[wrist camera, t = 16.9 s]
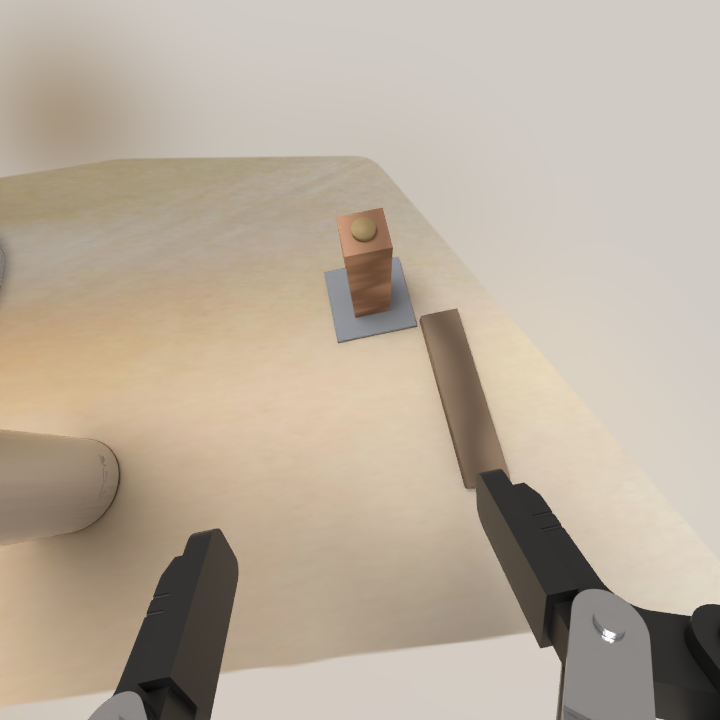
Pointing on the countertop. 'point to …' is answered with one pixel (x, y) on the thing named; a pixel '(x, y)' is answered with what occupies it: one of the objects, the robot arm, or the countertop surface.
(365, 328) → the slate mat
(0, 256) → the lumpy-topped squat cylinder
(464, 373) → the walnut board
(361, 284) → the post
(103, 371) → the countertop surface
